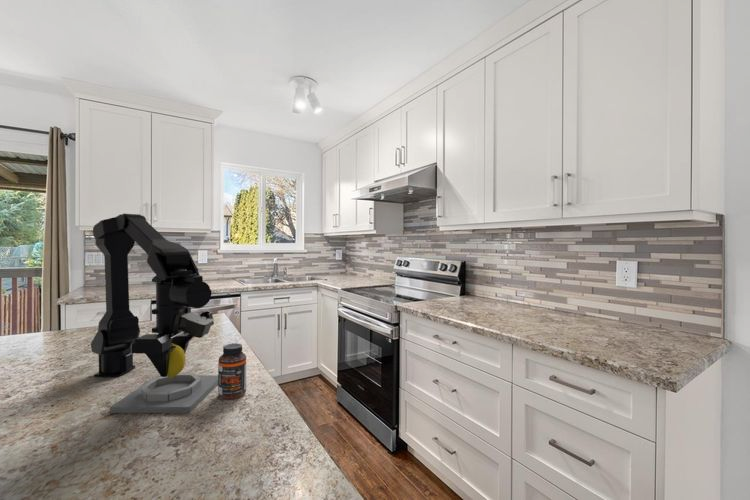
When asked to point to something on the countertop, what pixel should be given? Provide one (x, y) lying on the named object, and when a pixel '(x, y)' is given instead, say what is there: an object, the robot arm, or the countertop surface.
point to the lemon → (176, 361)
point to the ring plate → (168, 394)
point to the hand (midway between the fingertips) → (171, 371)
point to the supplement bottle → (232, 372)
